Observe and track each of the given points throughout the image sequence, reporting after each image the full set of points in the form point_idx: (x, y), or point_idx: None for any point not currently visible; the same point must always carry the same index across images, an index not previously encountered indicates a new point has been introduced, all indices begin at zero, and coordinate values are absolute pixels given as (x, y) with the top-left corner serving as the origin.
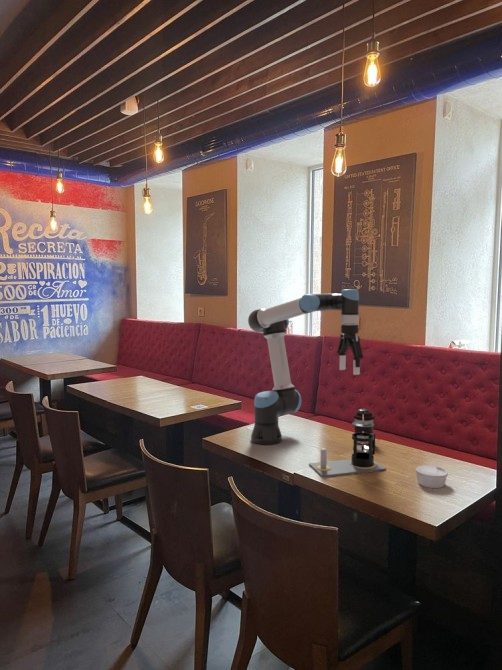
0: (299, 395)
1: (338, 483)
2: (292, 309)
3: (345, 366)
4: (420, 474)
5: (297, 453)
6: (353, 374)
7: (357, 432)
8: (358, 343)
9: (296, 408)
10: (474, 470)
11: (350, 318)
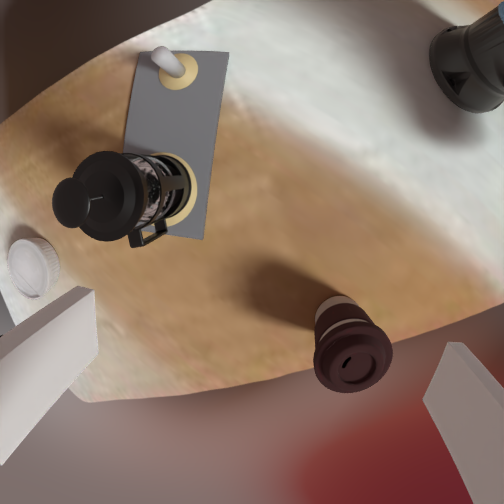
0: None
1: (100, 75)
2: None
3: (435, 421)
4: (22, 238)
5: (335, 72)
6: (86, 288)
7: (341, 305)
8: None
9: None
10: (82, 381)
11: None
